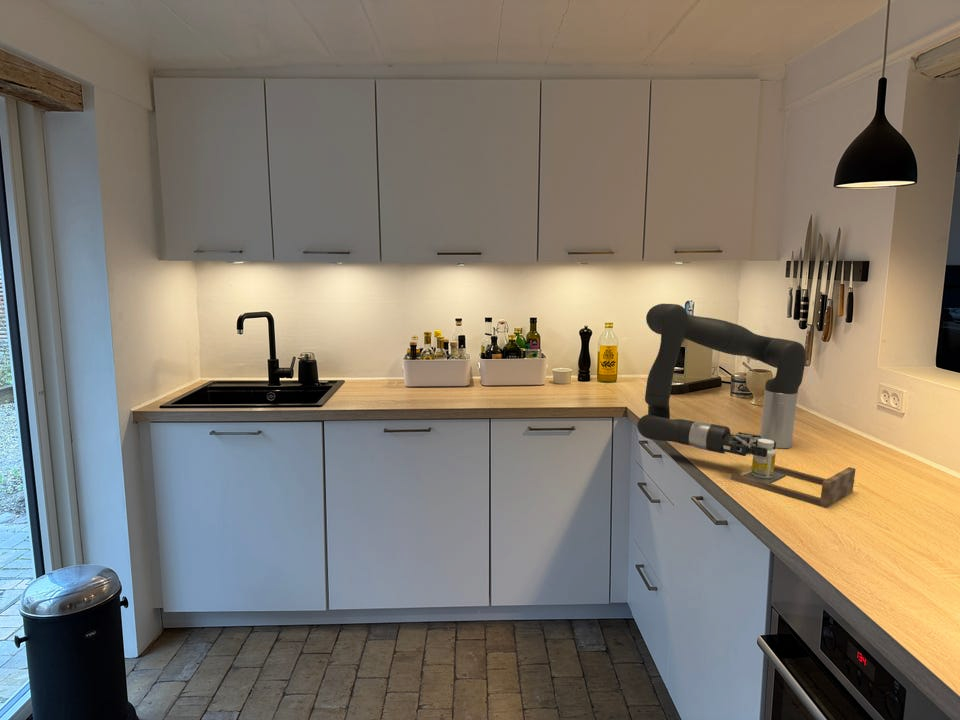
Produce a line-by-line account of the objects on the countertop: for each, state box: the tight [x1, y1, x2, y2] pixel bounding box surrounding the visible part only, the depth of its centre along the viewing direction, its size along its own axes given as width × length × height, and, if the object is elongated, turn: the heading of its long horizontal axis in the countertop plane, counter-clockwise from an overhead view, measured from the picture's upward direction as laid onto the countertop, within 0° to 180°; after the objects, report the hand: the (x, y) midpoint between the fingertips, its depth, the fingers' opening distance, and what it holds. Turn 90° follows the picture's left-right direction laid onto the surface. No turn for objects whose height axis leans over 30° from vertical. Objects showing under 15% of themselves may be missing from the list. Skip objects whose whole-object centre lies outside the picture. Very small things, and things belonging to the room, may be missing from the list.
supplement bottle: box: [750, 439, 777, 479], centre depth 164 cm, size 5×5×10 cm
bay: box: [730, 464, 857, 508], centre depth 159 cm, size 17×24×6 cm
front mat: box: [742, 471, 787, 484], centre depth 165 cm, size 12×7×1 cm, turn 131°
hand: (771, 449), depth 163 cm, fingers open, 8 cm apart
